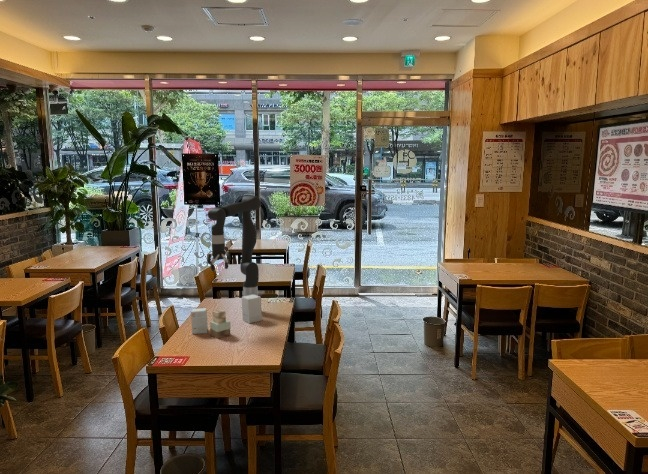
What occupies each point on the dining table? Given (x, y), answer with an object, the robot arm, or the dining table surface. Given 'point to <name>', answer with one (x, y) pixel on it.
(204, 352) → the dining table surface
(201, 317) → the small box
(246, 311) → the supplement box
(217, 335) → the walnut slab
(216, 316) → the maple block
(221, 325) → the sage slab
